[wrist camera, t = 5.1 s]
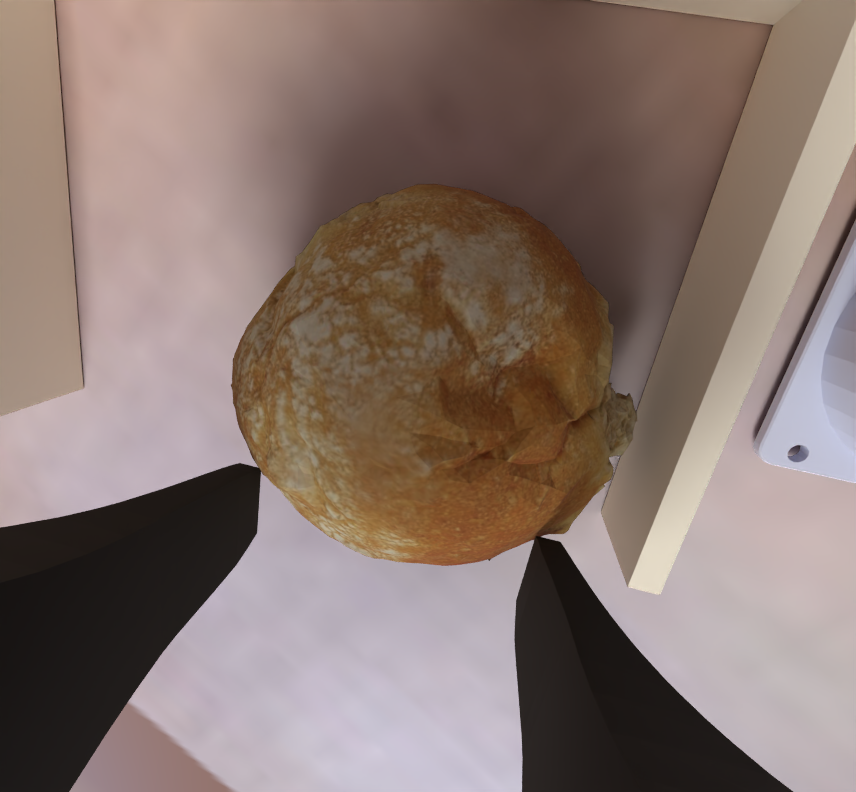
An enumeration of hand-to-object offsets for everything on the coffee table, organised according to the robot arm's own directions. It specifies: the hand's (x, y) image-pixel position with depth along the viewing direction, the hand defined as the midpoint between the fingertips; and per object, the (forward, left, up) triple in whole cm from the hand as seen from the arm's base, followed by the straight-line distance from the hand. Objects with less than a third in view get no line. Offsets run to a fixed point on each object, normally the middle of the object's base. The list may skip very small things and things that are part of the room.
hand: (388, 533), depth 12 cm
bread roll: (0, -3, -4) cm, 5 cm away
